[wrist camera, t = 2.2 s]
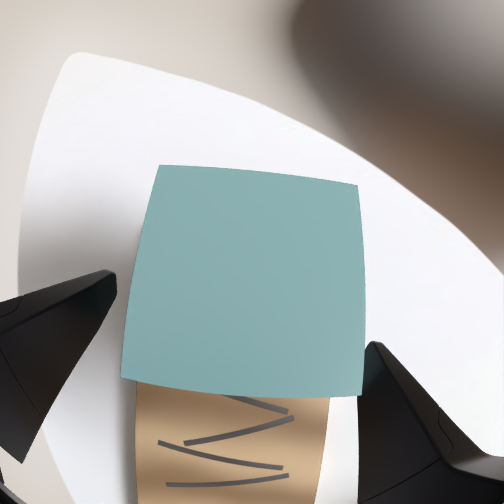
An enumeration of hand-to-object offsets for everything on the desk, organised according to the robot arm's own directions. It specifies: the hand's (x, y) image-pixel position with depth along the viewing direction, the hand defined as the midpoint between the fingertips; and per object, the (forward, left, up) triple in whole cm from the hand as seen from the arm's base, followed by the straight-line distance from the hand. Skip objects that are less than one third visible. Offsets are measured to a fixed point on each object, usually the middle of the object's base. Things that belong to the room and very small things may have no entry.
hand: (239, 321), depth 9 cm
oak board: (-5, 0, -9) cm, 11 cm away
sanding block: (+1, 0, -8) cm, 8 cm away
